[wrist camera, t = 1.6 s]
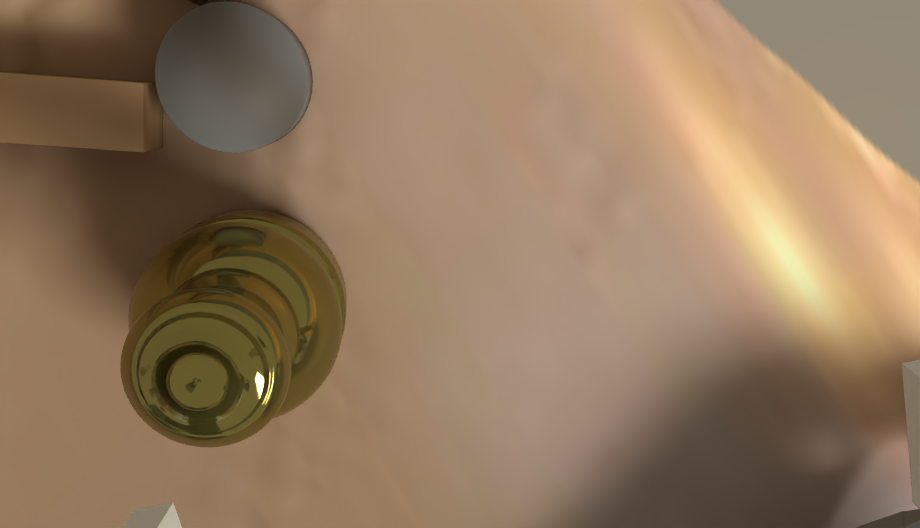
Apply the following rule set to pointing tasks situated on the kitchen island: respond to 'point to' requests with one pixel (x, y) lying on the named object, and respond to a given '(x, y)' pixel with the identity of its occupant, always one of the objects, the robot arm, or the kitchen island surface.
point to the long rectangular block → (80, 112)
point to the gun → (897, 521)
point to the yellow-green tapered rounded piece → (232, 327)
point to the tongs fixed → (232, 76)
